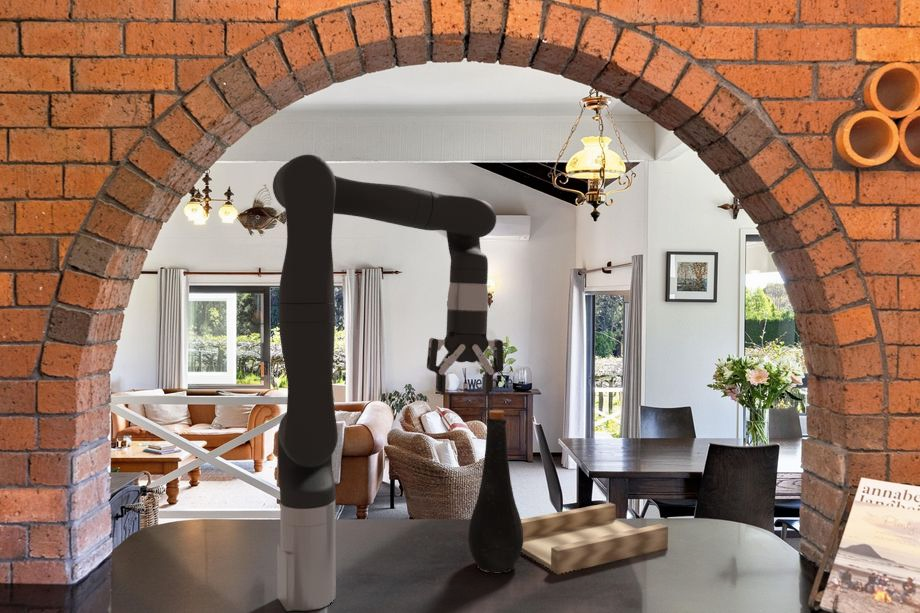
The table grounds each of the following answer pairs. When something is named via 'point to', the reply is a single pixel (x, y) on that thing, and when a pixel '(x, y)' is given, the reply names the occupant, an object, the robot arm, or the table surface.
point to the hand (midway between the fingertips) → (464, 394)
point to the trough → (587, 538)
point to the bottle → (495, 506)
